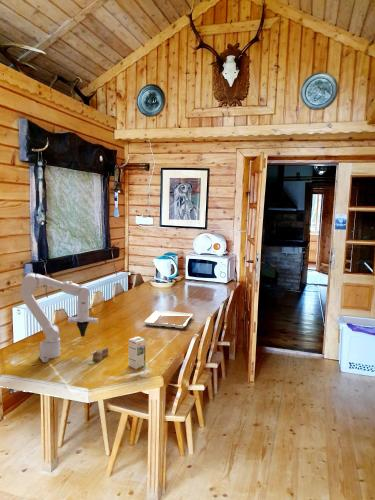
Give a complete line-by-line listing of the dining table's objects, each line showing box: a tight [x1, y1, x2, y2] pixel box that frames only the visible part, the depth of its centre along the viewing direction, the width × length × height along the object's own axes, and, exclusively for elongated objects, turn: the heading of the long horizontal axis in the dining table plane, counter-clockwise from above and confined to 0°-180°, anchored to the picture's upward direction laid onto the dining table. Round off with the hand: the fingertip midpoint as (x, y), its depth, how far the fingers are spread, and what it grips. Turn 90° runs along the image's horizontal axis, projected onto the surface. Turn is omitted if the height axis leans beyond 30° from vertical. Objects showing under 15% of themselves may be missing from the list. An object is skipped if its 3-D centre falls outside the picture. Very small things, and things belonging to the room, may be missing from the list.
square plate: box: [143, 310, 194, 329], centre depth 247 cm, size 27×27×4 cm
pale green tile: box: [87, 360, 96, 365], centre depth 176 cm, size 2×3×1 cm
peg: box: [89, 347, 109, 362], centre depth 181 cm, size 4×12×5 cm, turn 152°
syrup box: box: [128, 336, 147, 370], centre depth 175 cm, size 6×6×14 cm
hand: (82, 335), depth 187 cm, fingers closed
